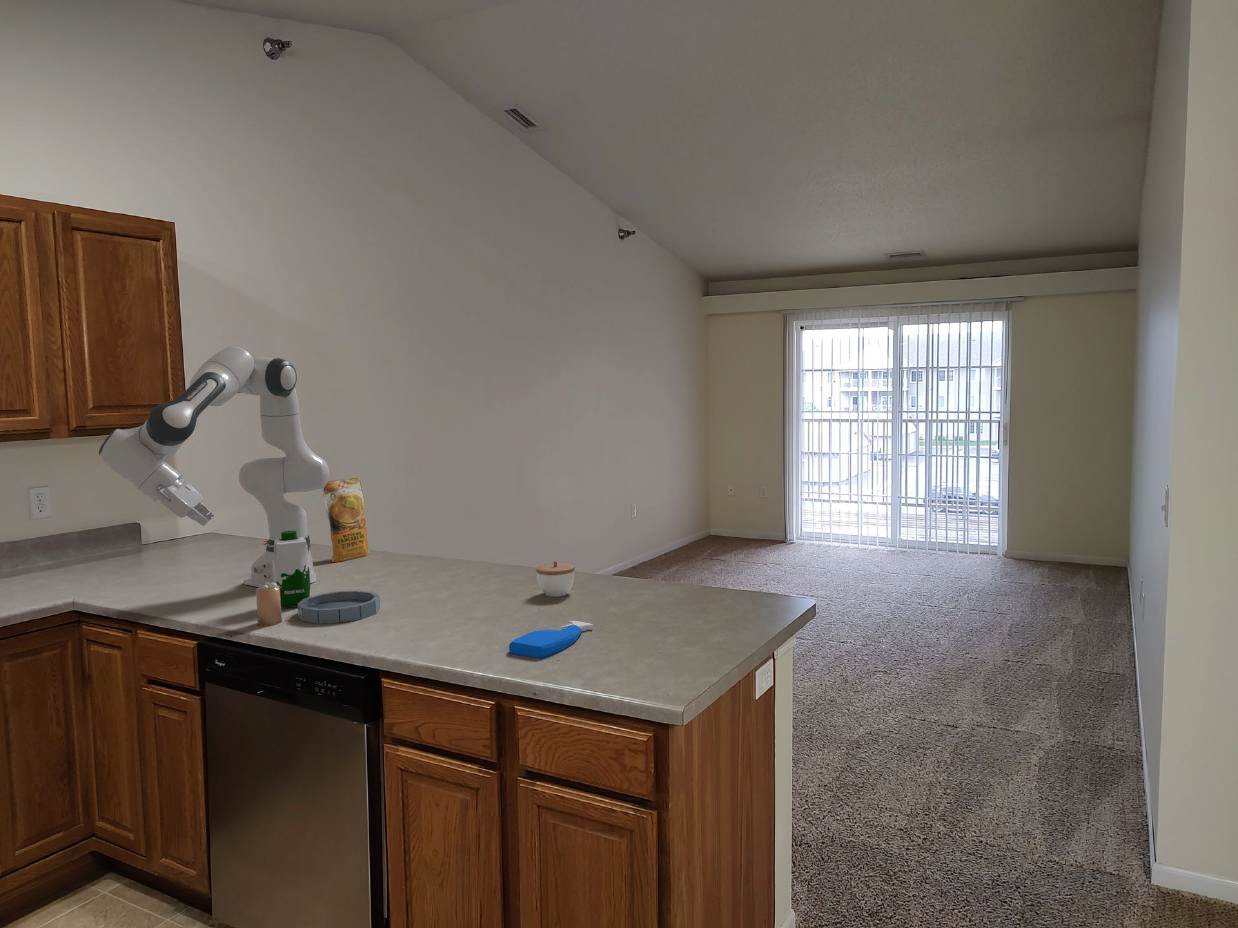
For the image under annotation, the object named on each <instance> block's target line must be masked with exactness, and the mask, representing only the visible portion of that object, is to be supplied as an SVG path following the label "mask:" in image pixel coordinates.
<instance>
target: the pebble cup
mask: <svg viewBox="0 0 1238 928" xmlns="http://www.w3.org/2000/svg"><path fill="white" fill-rule="evenodd" d="M255 594H256V595H255V596H256V598H255V599H256V612H257V613H256V615H257V625H258V626H261V627H270V626H276V625H279V624H281V623H282V621H283V620H282V607H281V601H280V587H279V586H277V584H276V583H271V584H270V583H269V582H264V583H263V584H262V586H261V587H256V588H255Z"/></svg>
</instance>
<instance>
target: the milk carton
mask: <svg viewBox="0 0 1238 928" xmlns="http://www.w3.org/2000/svg"><path fill="white" fill-rule="evenodd" d="M274 563H275V578H276V584H277V586H279V587H280V601H281V610H283V609H290V608H289V607H291V608H298V603H299V602H300V601H302V600H303V599H305V598H308V597H311V596H310V595H311V594H310V593H311V583H310V571H309V556H308V546H307V542H306V540H305V539H304V538H303V537H300V538H298V537H297V532H296V531H285V532H281V539H279V540H274Z"/></svg>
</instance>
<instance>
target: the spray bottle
mask: <svg viewBox="0 0 1238 928" xmlns="http://www.w3.org/2000/svg"><path fill="white" fill-rule="evenodd" d="M590 630H591V631H593V630H594V624H593V623H590V622H583V621H578V620H568V621H567V624H566V625H560V630H555V629H542V630H541V629H540V630H534V631H531V632H528V633H526V634H524V635H521V636H519V637H517V638H515V639H513V640H512V641H511V642H510V643H509V645H508V651H509V652H510V653H511V654H514V655H515V656H516V655H517V656H523V657H528V658H534V659H535V658H536V659H543V658H546V657H548V656H551V655H554V654H556V653H559V652H562V651H563V650H565V649H567V648H568V647H570V646H571V645H574V643H575V642H576V641H577V639H578V638H579V637H580V635H581V634H582V632H586V631H590Z"/></svg>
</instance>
